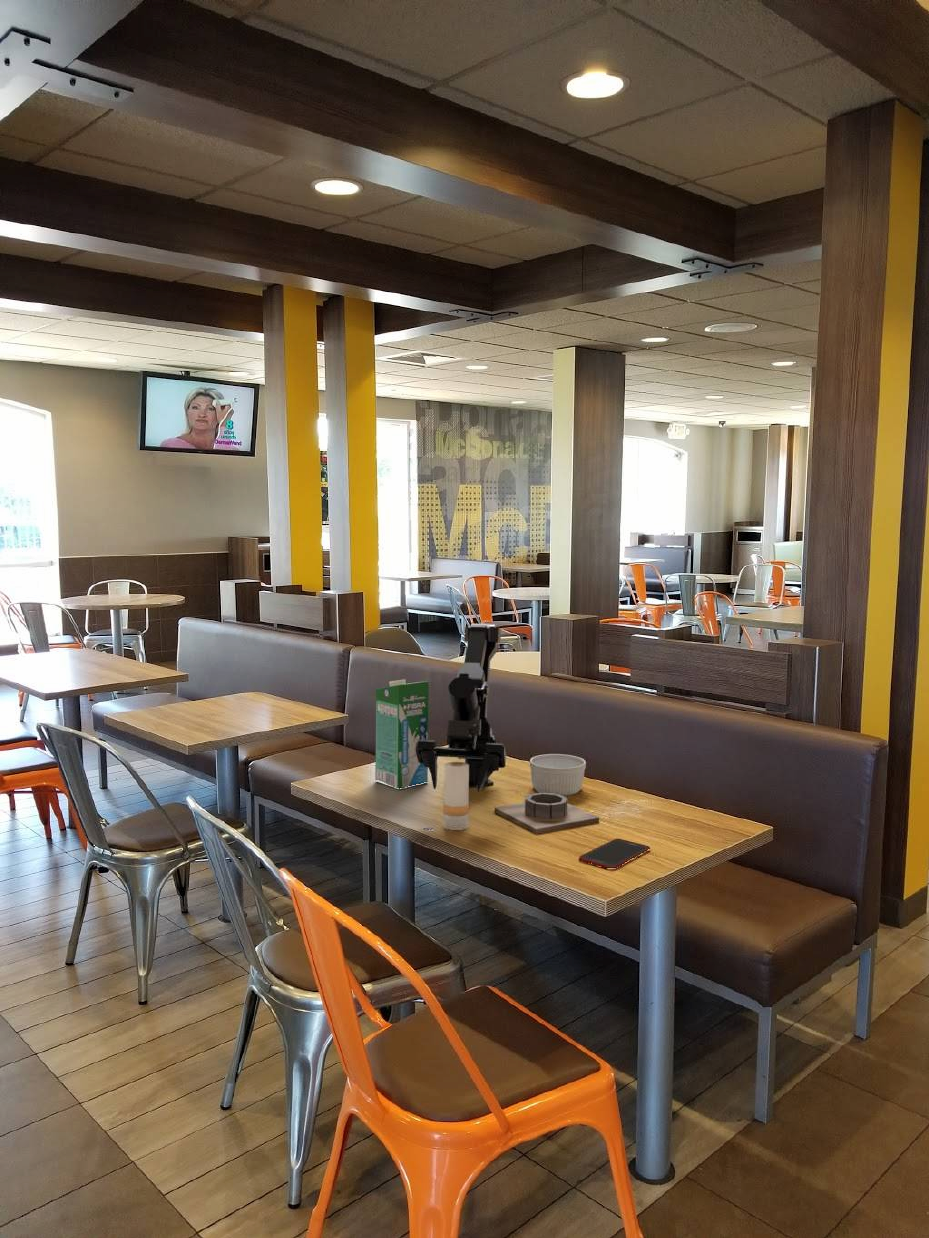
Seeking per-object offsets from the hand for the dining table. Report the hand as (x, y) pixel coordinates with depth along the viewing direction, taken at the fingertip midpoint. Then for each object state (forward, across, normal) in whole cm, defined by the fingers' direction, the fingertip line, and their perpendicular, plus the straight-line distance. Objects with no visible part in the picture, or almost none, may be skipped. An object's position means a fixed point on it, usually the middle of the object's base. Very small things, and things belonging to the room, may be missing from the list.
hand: (456, 789), depth 193 cm
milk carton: (-15, -18, +27) cm, 35 cm away
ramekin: (-17, +19, +28) cm, 38 cm away
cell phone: (+14, +32, -2) cm, 35 cm away
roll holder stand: (-2, +18, +12) cm, 22 cm away
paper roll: (+6, 0, +6) cm, 8 cm away
